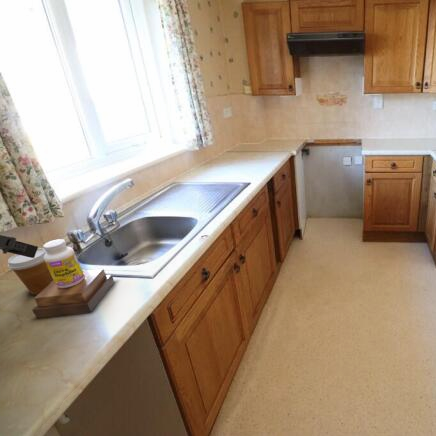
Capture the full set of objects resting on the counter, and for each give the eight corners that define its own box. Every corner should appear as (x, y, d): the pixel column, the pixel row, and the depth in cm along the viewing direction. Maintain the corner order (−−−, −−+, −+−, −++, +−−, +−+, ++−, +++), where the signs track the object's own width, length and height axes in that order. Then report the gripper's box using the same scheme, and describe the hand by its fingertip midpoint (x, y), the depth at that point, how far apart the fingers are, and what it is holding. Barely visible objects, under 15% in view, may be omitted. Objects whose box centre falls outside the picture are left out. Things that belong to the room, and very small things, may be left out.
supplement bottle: (56, 292, 88) (36, 252, 83) (57, 281, 93) (38, 242, 88) (85, 283, 92) (68, 243, 86) (85, 272, 97) (68, 234, 91)
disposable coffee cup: (18, 301, 95) (-1, 267, 90) (30, 284, 103) (13, 252, 98) (57, 292, 98) (41, 259, 93) (66, 276, 106) (51, 244, 101)
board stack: (36, 318, 88) (27, 301, 85) (67, 287, 100) (59, 271, 98) (91, 312, 89) (83, 294, 87) (114, 282, 102) (108, 266, 99)
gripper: (-46, 203, 57) (61, 237, 76) (-159, 201, 60) (-28, 235, 80) (-66, 244, 54) (50, 268, 74) (-183, 240, 57) (-42, 265, 77)
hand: (10, 251), depth 77 cm, fingers open, 13 cm apart
